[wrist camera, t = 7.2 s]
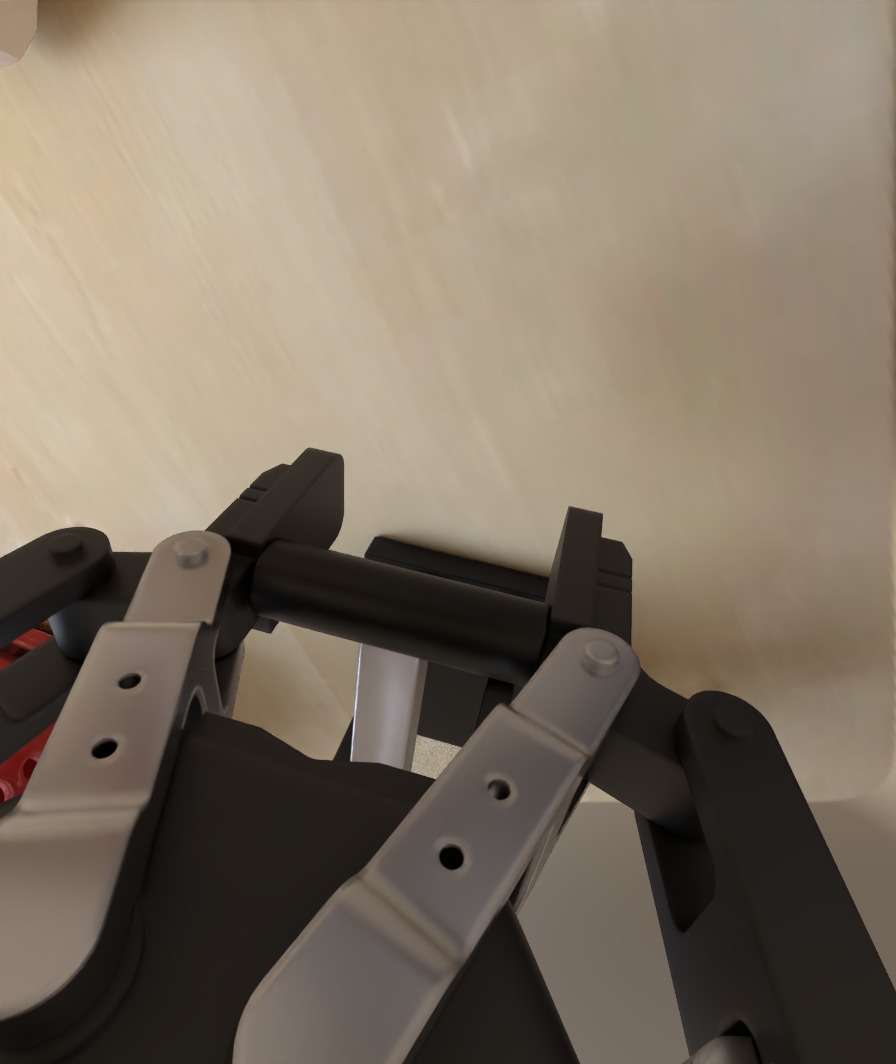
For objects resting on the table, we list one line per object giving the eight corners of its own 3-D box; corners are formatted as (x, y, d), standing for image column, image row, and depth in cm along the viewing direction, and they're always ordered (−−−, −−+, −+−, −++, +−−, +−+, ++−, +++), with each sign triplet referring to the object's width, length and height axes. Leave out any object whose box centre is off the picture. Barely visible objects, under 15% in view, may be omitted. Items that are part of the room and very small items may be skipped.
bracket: (374, 535, 23) (146, 912, 13) (581, 585, 22) (526, 1046, 11) (368, 698, 29) (210, 1051, 19) (531, 744, 28) (464, 1148, 17)
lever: (298, 512, 12) (230, 576, 10) (556, 574, 11) (543, 658, 9) (290, 922, 18) (251, 1011, 16) (450, 976, 18) (429, 1077, 16)
